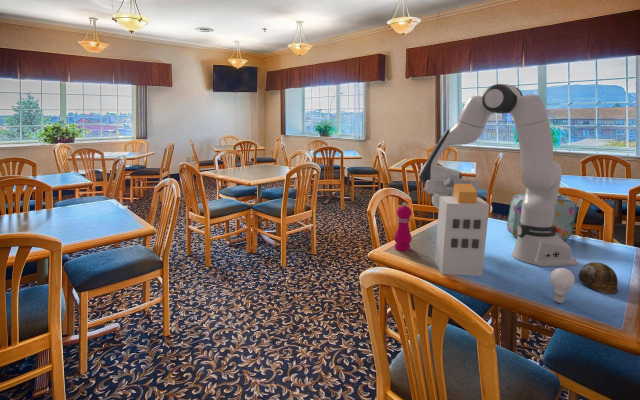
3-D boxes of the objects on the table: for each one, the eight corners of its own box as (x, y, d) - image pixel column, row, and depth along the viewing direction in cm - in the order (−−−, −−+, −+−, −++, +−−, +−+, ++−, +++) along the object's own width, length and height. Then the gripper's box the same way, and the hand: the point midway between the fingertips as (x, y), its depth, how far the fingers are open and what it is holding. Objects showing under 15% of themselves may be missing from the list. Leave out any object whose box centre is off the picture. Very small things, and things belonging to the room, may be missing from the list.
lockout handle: (460, 181, 152) (461, 171, 151) (476, 203, 132) (477, 192, 131) (445, 180, 153) (446, 171, 151) (458, 202, 133) (459, 192, 131)
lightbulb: (567, 299, 119) (573, 266, 116) (573, 309, 113) (579, 274, 111) (544, 296, 121) (549, 263, 119) (548, 305, 115) (553, 271, 113)
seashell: (570, 280, 132) (573, 259, 131) (593, 278, 134) (597, 257, 132) (599, 295, 121) (603, 272, 120) (624, 293, 123) (628, 270, 121)
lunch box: (563, 235, 181) (569, 191, 176) (575, 243, 171) (582, 195, 166) (504, 234, 183) (509, 190, 178) (512, 241, 173) (518, 194, 168)
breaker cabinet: (472, 263, 148) (478, 196, 142) (482, 276, 135) (490, 205, 130) (435, 261, 149) (439, 196, 143) (442, 275, 137) (447, 204, 131)
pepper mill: (411, 252, 160) (413, 205, 155) (393, 250, 161) (395, 204, 156) (410, 246, 166) (413, 201, 162) (393, 245, 168) (395, 200, 163)
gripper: (421, 183, 163) (427, 171, 150) (471, 184, 161) (482, 172, 148) (422, 198, 161) (428, 187, 148) (472, 198, 159) (483, 187, 146)
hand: (455, 179), depth 148 cm, fingers closed on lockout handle, 2 cm apart
